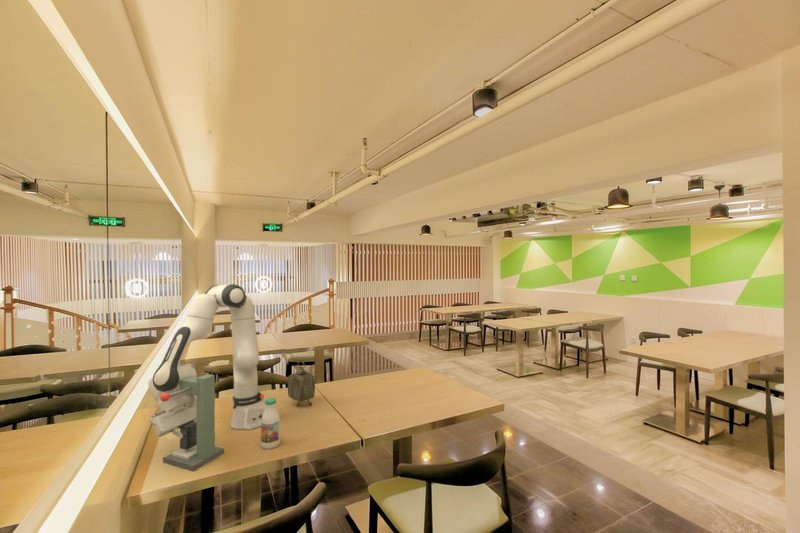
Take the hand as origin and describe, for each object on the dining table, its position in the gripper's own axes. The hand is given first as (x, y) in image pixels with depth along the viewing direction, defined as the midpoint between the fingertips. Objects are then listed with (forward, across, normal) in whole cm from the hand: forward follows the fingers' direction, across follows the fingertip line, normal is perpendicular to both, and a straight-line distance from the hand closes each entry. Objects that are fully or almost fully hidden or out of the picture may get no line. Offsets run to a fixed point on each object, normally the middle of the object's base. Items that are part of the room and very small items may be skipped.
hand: (190, 434), depth 143 cm
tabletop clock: (+12, +61, +1) cm, 62 cm away
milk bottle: (+24, +20, -10) cm, 33 cm away
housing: (+3, 0, +4) cm, 5 cm away
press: (+8, -4, +5) cm, 10 cm away
